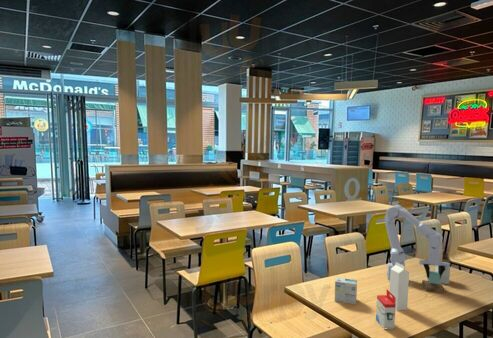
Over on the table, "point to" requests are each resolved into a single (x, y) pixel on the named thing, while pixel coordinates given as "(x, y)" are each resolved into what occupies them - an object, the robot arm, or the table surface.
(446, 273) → the small box
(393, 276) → the milk
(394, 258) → the robot arm
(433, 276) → the teal block
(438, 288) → the walnut slab
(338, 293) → the light bulb box
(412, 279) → the table surface
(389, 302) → the ink box
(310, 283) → the table surface
